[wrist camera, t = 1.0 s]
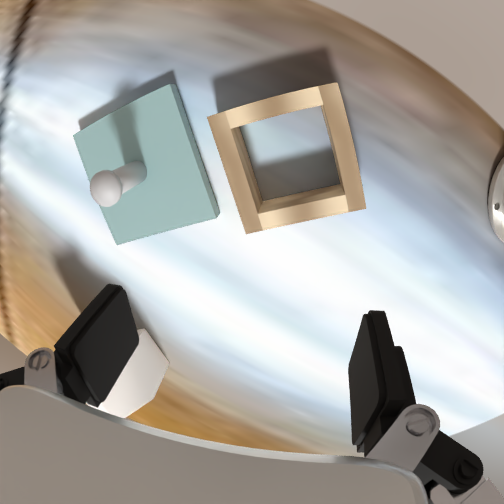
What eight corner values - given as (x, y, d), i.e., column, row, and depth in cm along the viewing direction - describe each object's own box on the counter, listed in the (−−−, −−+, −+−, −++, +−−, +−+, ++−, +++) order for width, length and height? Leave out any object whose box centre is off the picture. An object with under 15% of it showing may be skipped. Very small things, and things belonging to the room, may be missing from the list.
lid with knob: (175, 84, 25) (137, 81, 19) (220, 213, 31) (197, 245, 24) (81, 133, 29) (35, 146, 22) (123, 239, 35) (88, 271, 28)
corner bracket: (85, 320, 43) (46, 371, 33) (132, 310, 40) (91, 371, 29) (120, 366, 47) (91, 418, 37) (169, 362, 44) (141, 424, 33)
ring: (332, 85, 24) (337, 82, 20) (359, 196, 28) (366, 208, 25) (217, 115, 26) (206, 117, 23) (252, 219, 31) (246, 234, 28)
